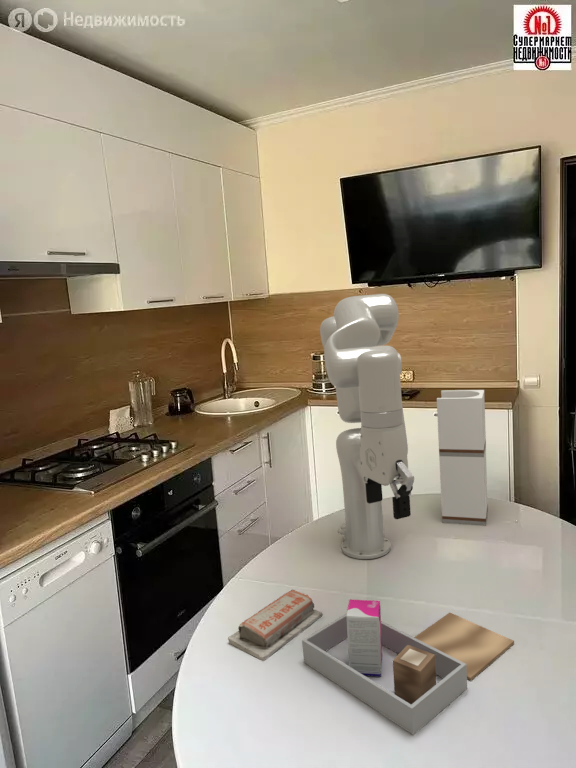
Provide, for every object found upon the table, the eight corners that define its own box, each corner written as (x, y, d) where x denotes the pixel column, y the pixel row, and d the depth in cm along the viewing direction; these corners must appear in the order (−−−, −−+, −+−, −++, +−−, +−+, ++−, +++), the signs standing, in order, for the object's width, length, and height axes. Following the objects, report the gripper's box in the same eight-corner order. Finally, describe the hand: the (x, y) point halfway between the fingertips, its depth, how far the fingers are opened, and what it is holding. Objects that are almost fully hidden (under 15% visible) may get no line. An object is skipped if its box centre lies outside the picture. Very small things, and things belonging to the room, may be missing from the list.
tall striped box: (487, 510, 168) (484, 389, 162) (485, 525, 159) (481, 398, 153) (446, 508, 173) (441, 390, 166) (442, 523, 163) (436, 398, 157)
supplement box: (382, 677, 103) (378, 617, 101) (348, 675, 105) (344, 616, 103) (384, 656, 109) (380, 599, 107) (351, 655, 110) (347, 598, 108)
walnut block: (395, 698, 98) (392, 659, 97) (409, 681, 102) (407, 644, 101) (422, 710, 95) (420, 670, 94) (436, 692, 99) (434, 654, 97)
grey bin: (303, 662, 109) (301, 640, 108) (357, 628, 118) (355, 607, 117) (413, 734, 90) (411, 708, 89) (467, 688, 99) (466, 664, 98)
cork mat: (405, 646, 111) (405, 643, 111) (449, 615, 120) (449, 612, 120) (470, 681, 100) (470, 677, 100) (514, 643, 109) (514, 640, 109)
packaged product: (285, 583, 129) (321, 596, 123) (287, 603, 130) (323, 618, 124) (225, 623, 116) (261, 640, 110) (227, 645, 117) (264, 663, 111)
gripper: (341, 415, 114) (348, 500, 116) (388, 430, 98) (395, 528, 100) (375, 409, 117) (381, 492, 119) (427, 423, 101) (432, 519, 103)
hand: (387, 509), depth 110 cm, fingers open, 9 cm apart
